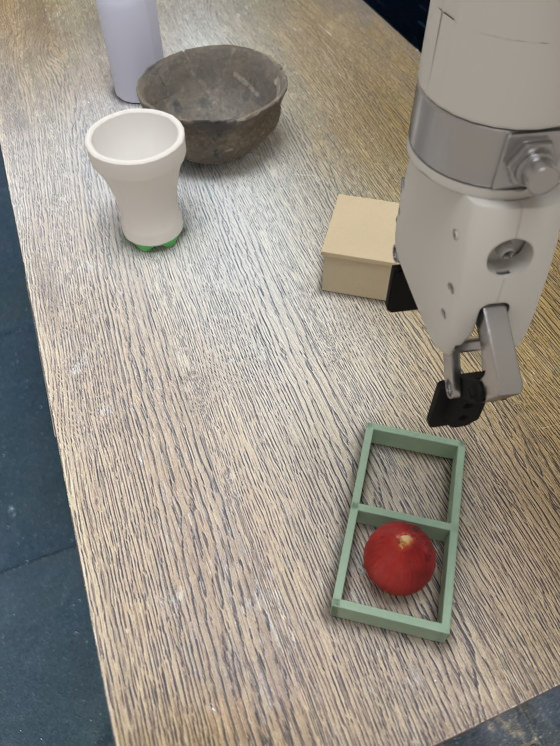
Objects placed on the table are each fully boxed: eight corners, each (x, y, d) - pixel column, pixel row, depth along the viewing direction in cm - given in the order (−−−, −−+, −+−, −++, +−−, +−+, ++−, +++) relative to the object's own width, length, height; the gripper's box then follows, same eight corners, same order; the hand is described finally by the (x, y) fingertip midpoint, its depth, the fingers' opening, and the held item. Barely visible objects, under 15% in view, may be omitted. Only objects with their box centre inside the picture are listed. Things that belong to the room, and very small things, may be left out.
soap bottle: (124, 73, 109) (90, -95, 90) (176, 80, 107) (153, -89, 88) (102, 99, 104) (61, -73, 85) (156, 107, 102) (127, -66, 83)
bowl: (197, 95, 104) (190, 31, 97) (311, 128, 98) (314, 63, 90) (118, 162, 93) (103, 96, 85) (242, 204, 87) (238, 137, 79)
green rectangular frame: (460, 454, 63) (466, 441, 61) (443, 643, 52) (449, 634, 50) (364, 435, 65) (367, 421, 63) (329, 615, 54) (331, 605, 52)
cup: (147, 276, 79) (125, 176, 68) (93, 235, 84) (63, 135, 72) (216, 232, 84) (205, 132, 73) (160, 195, 88) (142, 96, 77)
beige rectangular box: (515, 262, 80) (531, 221, 75) (513, 324, 74) (530, 284, 69) (335, 234, 83) (338, 193, 78) (318, 291, 77) (321, 251, 72)
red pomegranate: (391, 530, 58) (404, 488, 52) (441, 577, 56) (461, 538, 49) (346, 572, 56) (353, 533, 50) (395, 623, 53) (410, 589, 47)
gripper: (671, 238, 24) (533, 465, 38) (503, 28, 35) (442, 265, 48) (481, 260, 24) (409, 483, 37) (367, 40, 34) (343, 276, 48)
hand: (427, 360), depth 43 cm, fingers open, 9 cm apart
